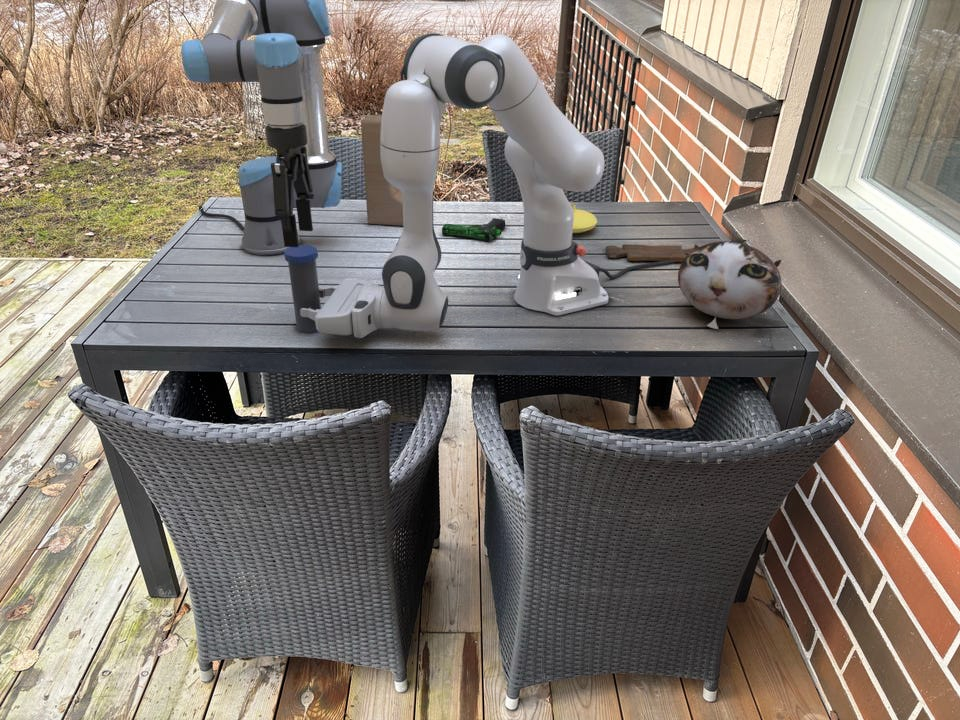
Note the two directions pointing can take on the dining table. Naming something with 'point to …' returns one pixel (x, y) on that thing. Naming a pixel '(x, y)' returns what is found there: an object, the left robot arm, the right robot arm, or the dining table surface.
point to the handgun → (476, 230)
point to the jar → (305, 293)
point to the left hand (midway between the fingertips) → (299, 238)
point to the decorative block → (378, 178)
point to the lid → (301, 254)
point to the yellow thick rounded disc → (583, 220)
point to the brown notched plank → (648, 252)
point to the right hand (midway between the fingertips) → (309, 301)
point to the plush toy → (729, 280)
